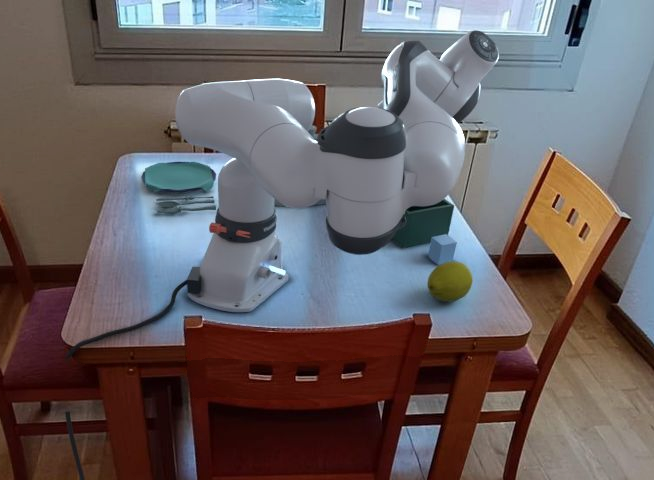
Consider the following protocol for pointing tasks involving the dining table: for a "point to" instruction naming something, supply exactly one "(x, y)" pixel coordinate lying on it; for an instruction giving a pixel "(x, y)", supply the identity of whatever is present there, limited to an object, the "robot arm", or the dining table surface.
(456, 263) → the lemon
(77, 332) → the dining table surface
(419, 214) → the bin
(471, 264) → the dining table surface
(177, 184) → the cutlery set
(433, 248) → the block
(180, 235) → the dining table surface
